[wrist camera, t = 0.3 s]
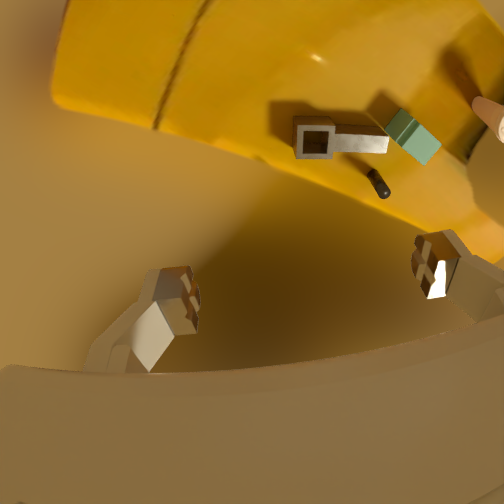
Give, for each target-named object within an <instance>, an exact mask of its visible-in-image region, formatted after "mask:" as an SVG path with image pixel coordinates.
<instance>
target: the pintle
mask: <svg viewBox="0 0 504 504" xmlns="http://www.w3.org/2000/svg"><path fill="white" fill-rule="evenodd" d="M367 177H368V179H369V180H370V182H371V184H372V185H373V187H374V189H375V190H376V192H377V194H378V195H379V197H380V198H381V199H386V198H388V197H389V196H390V194H391V191H390V189H389V188H388V186H387V185H386V183H385V182H384V180H383V179H382V177H381V176H380V174H379V173H378V171H377V170H374V169H373V170H370V171H369V172H368V174H367Z"/></svg>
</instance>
